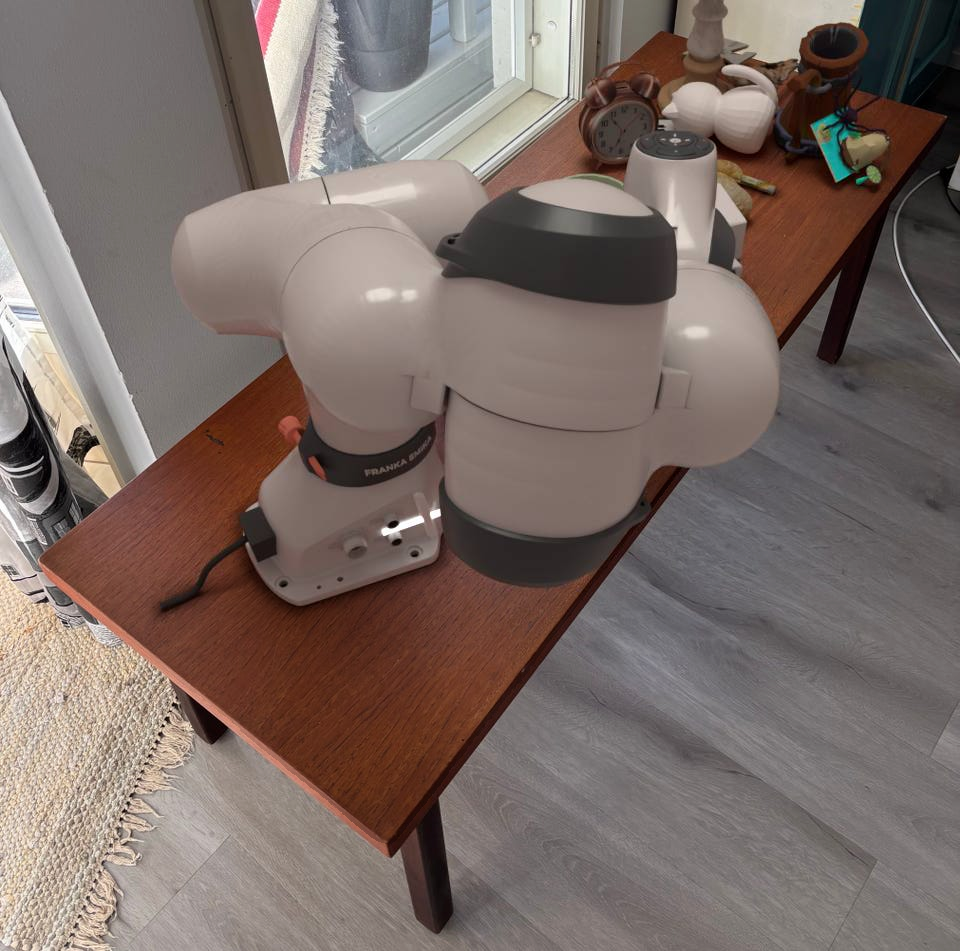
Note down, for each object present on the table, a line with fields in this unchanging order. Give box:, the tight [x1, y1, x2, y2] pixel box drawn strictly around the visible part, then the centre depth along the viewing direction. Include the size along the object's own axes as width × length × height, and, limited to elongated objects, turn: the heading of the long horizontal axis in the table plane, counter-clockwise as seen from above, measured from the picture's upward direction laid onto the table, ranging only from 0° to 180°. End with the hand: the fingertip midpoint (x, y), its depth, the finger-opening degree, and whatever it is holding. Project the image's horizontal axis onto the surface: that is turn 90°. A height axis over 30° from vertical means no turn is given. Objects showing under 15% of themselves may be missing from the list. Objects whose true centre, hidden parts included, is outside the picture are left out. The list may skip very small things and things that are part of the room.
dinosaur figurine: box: [722, 58, 799, 115], centre depth 147 cm, size 14×6×9 cm
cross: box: [682, 37, 758, 65], centre depth 157 cm, size 10×3×10 cm
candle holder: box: [656, 0, 734, 113], centre depth 142 cm, size 12×12×20 cm
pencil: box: [727, 173, 777, 195], centre depth 137 cm, size 1×1×18 cm
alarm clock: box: [578, 60, 661, 171], centre depth 135 cm, size 11×5×15 cm, turn 104°
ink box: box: [715, 183, 748, 264], centre depth 119 cm, size 9×5×12 cm, turn 14°
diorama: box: [810, 73, 892, 186], centre depth 133 cm, size 11×15×6 cm
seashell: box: [717, 159, 754, 219], centre depth 131 cm, size 10×6×15 cm
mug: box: [772, 21, 870, 163], centre depth 135 cm, size 18×12×15 cm, turn 143°
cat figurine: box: [661, 64, 779, 155], centre depth 139 cm, size 9×12×15 cm
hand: (646, 377), depth 110 cm, fingers closed on fruit, 7 cm apart
